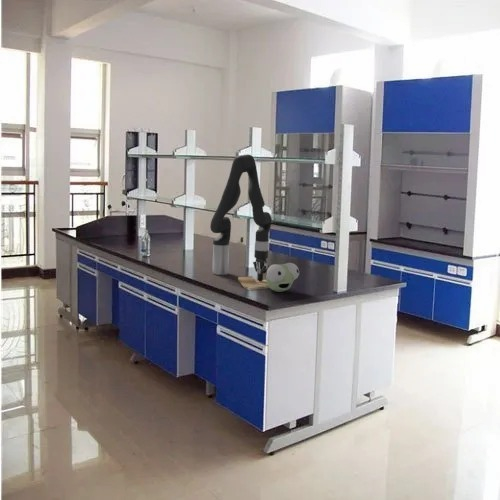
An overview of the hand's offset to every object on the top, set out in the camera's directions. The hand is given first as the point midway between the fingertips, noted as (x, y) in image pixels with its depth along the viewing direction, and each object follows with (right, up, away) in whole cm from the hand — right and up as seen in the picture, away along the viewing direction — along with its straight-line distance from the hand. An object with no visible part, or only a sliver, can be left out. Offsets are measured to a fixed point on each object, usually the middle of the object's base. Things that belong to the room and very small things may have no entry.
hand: (260, 280), depth 325 cm
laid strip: (+1, -3, -11) cm, 11 cm away
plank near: (-7, -1, -7) cm, 10 cm away
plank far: (+1, -2, -2) cm, 3 cm away
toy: (+10, -5, -18) cm, 21 cm away
